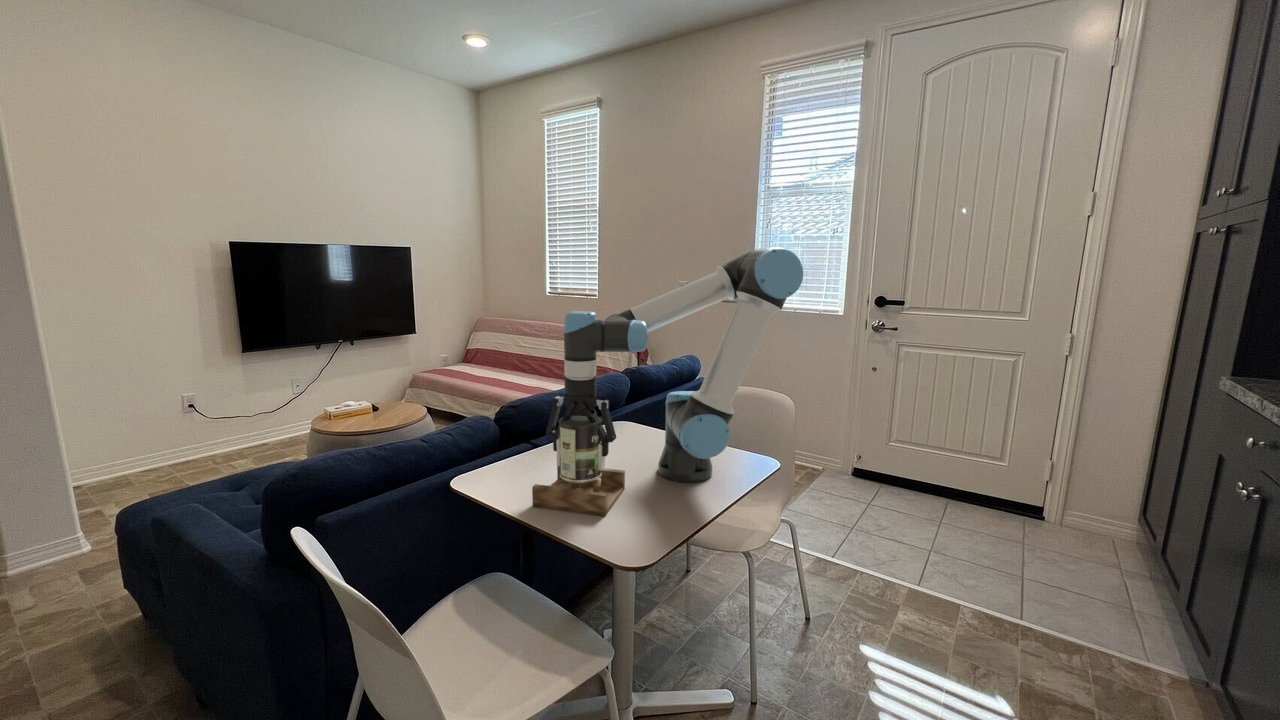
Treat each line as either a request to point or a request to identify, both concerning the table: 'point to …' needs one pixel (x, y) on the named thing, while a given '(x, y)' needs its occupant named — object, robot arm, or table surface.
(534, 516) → the table surface
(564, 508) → the wooden tray
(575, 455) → the coffee can
